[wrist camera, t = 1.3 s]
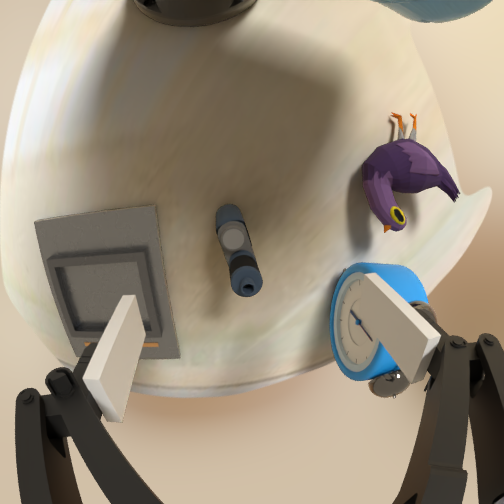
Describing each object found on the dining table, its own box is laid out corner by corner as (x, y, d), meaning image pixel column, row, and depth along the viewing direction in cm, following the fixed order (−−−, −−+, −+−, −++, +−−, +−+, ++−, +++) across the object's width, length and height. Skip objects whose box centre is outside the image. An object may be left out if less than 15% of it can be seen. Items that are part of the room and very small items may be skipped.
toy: (430, 183, 32) (463, 198, 26) (362, 220, 34) (390, 242, 28) (408, 105, 28) (444, 107, 22) (331, 136, 29) (359, 142, 23)
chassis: (37, 220, 28) (28, 224, 26) (155, 204, 29) (152, 208, 27) (78, 353, 35) (73, 362, 33) (181, 354, 36) (179, 364, 34)
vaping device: (228, 251, 32) (236, 308, 21) (213, 207, 30) (211, 244, 19) (251, 244, 32) (270, 298, 21) (236, 199, 30) (249, 231, 19)
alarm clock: (343, 244, 33) (415, 308, 20) (384, 248, 34) (461, 305, 20) (320, 335, 38) (362, 417, 24) (358, 333, 39) (408, 407, 25)
